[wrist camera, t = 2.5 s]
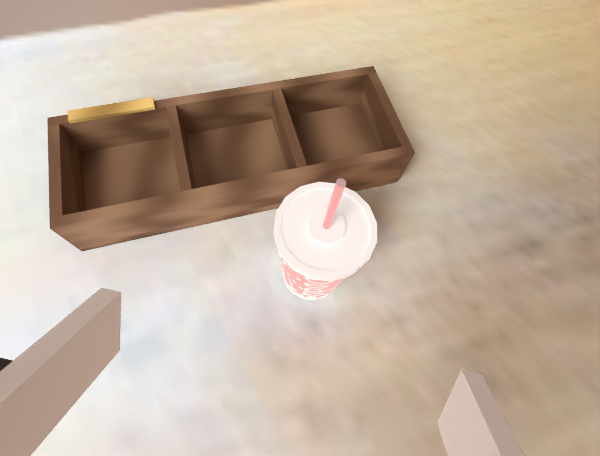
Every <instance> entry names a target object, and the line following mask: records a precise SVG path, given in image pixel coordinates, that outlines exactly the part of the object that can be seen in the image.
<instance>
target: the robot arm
mask: <svg viewBox="0 0 600 456" xmlns="http://www.w3.org/2000/svg"><path fill="white" fill-rule="evenodd" d="M120 319H121V292H117V291H113V290H109V289H104V288H101V289H100V290H99V291H97V292H96V293H95V294H94V295H92V296H91V297H90V298H89V299H88V300H86V301H85V302H84V303H83V304H82V305H80V306H79V307H78V308H77V309H75V310H74V311H73V312H72V313H71V314H69V315H68V316H67V317H66V318H65V319H63V320H62V321H61V322H60V323H58V324H57V325H56V326H55V327H54V328H52V329H51V330H50V331H49V332H48V333H46V334H45V335H44V336H43V337H42V338H40V339H39V340H38V341H37V342H35V343H34V344H33V345H32V346H31V347H29V348H28V349H27V350H26V351H25V352H23V353H22V354H21V355H20V356H18V357H17V358H16V359H15V360H14V361H12V360H8V359H3V358H0V456H31V454H32V453H33V452H34V451H35V450H36V448H37V447H38V446H39V445H40V444H41V443H42V441H43V440H44V439H45V438H46V437H47V435H48V434H49V433H50V432H51V431H52V430H53V428H54V427H55V426H56V425H57V424H58V422H59V421H60V420H61V419H62V418H63V417H64V415H65V414H66V413H67V412H68V411H69V409H70V408H71V407H72V406H73V405H74V404H75V402H76V401H77V400H78V399H79V398H80V396H81V395H82V394H83V393H84V392H85V391H86V389H87V388H88V387H89V386H90V385H91V383H92V382H93V381H94V380H95V379H96V378H97V376H98V375H99V374H100V373H101V372H102V370H103V369H104V368H105V367H106V366H107V365H108V363H109V362H110V361H111V360H112V359H113V358H114V356H115V355H116V354H117V353H118V352H119V350H120ZM437 423H438V427H439V430H440V433H441V436H442V440H443V443H444V446H445V449H446V453H447V456H525V455H524V453H523V452H522V450H521V448H520V446H519V444H518V442H517V440H516V438H515V436H514V434H513V432H512V430H511V429H510V427H509V425H508V423H507V421H506V419H505V417H504V415H503V413H502V411H501V409H500V408H499V406H498V404H497V402H496V400H495V398H494V396H493V394H492V392H491V390H490V388H489V387H488V385H487V383H486V381H485V379H484V377H483V375H482V374H481V373H477V372H472V371H468V370H464V369H461V371H460V373H459V376H458V378H457V380H456V382H455V384H454V387H453V389H452V391H451V393H450V396H449V398H448V400H447V402H446V404H445V407H444V409H443V411H442V413H441V415H440V418H439V420H438V422H437Z"/></svg>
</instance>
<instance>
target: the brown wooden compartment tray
mask: <svg viewBox="0 0 600 456" xmlns="http://www.w3.org/2000/svg"><path fill="white" fill-rule="evenodd" d="M414 153H415V152H414V150H413V148H412V146H411V144H410V142H409V140H408V138H407V136H406V134H405V131H404V129H403V127H402V125H401V123H400V121H399V119H398V117H397V115H396V113H395V110H394V108H393V106H392V104H391V102H390V100H389V98H388V96H387V94H386V92H385V90H384V87H383V85H382V83H381V81H380V79H379V77H378V75H377V73H376V71H375V69H374V66H371V67H365V68H358V69H352V70H346V71H340V72H333V73H327V74H321V75H314V76H308V77H302V78H296V79H289V80H283V81H277V82H270V83H264V84H258V85H251V86H245V87H239V88H233V89H226V90H220V91H214V92H207V93H201V94H195V95H189V96H182V97H176V98H170V99H163V100H157V101H154V99H153V97H152V98H145V99H139V100H133V101H126V102H120V103H114V104H107V105H101V106H95V107H88V108H82V109H75V110H69V111H68V115H63V116H56V117H50V118H48V161H49V209H50V229H51V230H53V231H54V232H56V233H57V234H58V235H60V236H61V237H63V238H64V239H65V240H67V241H68V242H70V243H71V244H72V245H74V246H75V247H77V248H78V249H80V250H81V251H85V250H89V249H94V248H98V247H103V246H108V245H112V244H117V243H121V242H126V241H130V240H135V239H139V238H144V237H148V236H153V235H157V234H162V233H167V232H171V231H176V230H180V229H185V228H189V227H194V226H198V225H203V224H207V223H212V222H217V221H221V220H226V219H230V218H235V217H239V216H244V215H248V214H253V213H257V212H262V211H266V210H271V209H276V208H279V207H280V205H281V203H282V202H283V200H284V198H285V197H286V196H287V195H289V194H290V193H292V192H293V191H294V190H296V189H297V188H299V187H300V186H304V185H308V184H312V183H316V182H326V183H336V181H337V179H340V178H342V179H344V180H345V181H346V186H345V187H346V188H348V189H350V190H352V191H357V190H362V189H366V188H371V187H375V186H380V185H385V184H389V183H394V182H397V181H398V179H399V178H400V176H401V175H402V173H403V171H404V170H405V168H406V166H407V165H408V163H409V161H410V160H411V158H412V156H413V155H414Z"/></svg>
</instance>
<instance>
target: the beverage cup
mask: <svg viewBox="0 0 600 456" xmlns="http://www.w3.org/2000/svg"><path fill="white" fill-rule="evenodd" d="M345 186H346V181H345V180H344V179H342V178H340V179H337V181H336V183H326V182H316V183H312V184H308V185H304V186H300V187H299V188H297V189H296V190H294V191H293V192H292V193H290V194H289V195H287V196H286V197H285V198H284V200H283V202H282V203H281V205H280V207H279V208H278V210H277V211H276V214H275V223H274V231H273V233H274V238H275V242H276V245H277V248H278V251H279V254H280V257H281V265H282V273H283V277H284V280H285V284H286V286H287V287H288V288H289V289H290V290H291V292H292V293H293V294H295V295H297V296H299V297H301V298H302V299H309V300H317V299H320V298H323V297H326V296H327V295H328V294H329V293H330V292H332V291H333V290H334V289H335V288H336V287H337V286H338V285H339V284H340V283H341V282H342V281H343V280H344V279H345V278H346V277H348V276H351V275H352V274H354V273H355V272H356V271H357V270H358V269H360V268H361V267H362V266H363V265H364V264H365V263H366V262H367V261H368V260H369V259H370V257H371V254H372V252H373V250H374V248H375V246H376V243H377V222H376V220H375V217H374V215H373V213H372V210H371V208H370V206H369V205H368V204H367V203H366V202H365V201H364V200H363V199H362V198H361V197H360V196H359V195H358V194H357V193H356V192H355V191H352V190H350V189H348V188H346V187H345Z"/></svg>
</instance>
